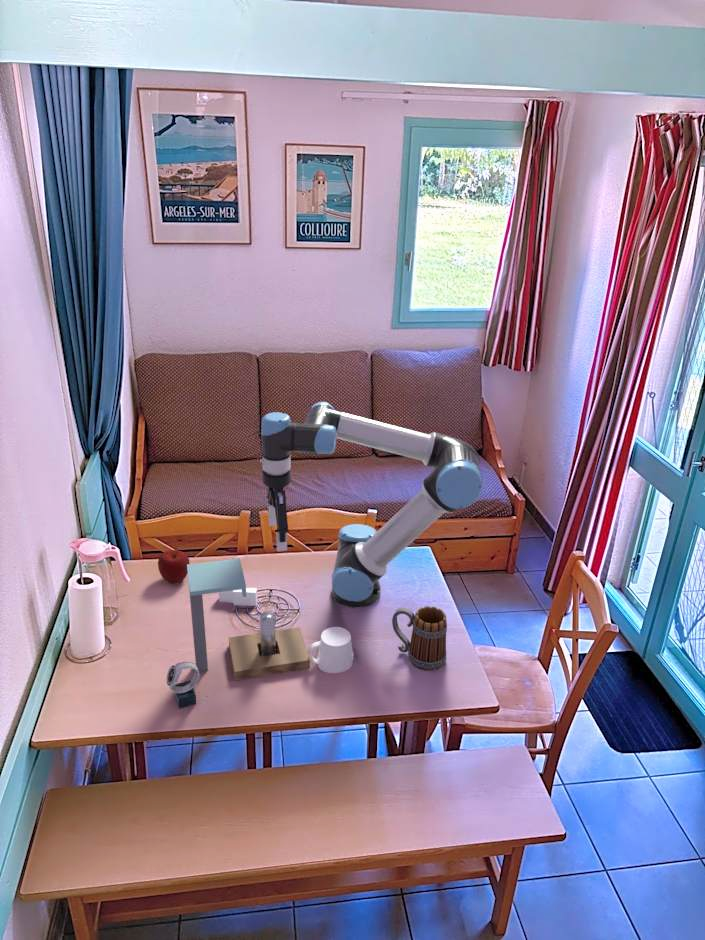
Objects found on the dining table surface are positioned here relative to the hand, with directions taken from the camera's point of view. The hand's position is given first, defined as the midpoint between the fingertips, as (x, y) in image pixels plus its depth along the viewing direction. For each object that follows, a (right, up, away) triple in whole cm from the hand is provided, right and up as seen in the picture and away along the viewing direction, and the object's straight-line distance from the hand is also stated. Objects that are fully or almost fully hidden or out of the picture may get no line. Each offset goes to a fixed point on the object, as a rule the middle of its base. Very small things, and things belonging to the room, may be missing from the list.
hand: (277, 537), depth 204 cm
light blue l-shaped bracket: (-14, -33, -8) cm, 37 cm away
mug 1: (+15, -34, -7) cm, 38 cm away
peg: (-2, -32, -5) cm, 33 cm away
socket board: (-2, -32, -5) cm, 33 cm away
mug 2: (+39, -33, -3) cm, 51 cm away
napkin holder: (-14, -21, +18) cm, 31 cm away
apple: (-35, -16, +26) cm, 46 cm away
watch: (-21, -39, -20) cm, 49 cm away
